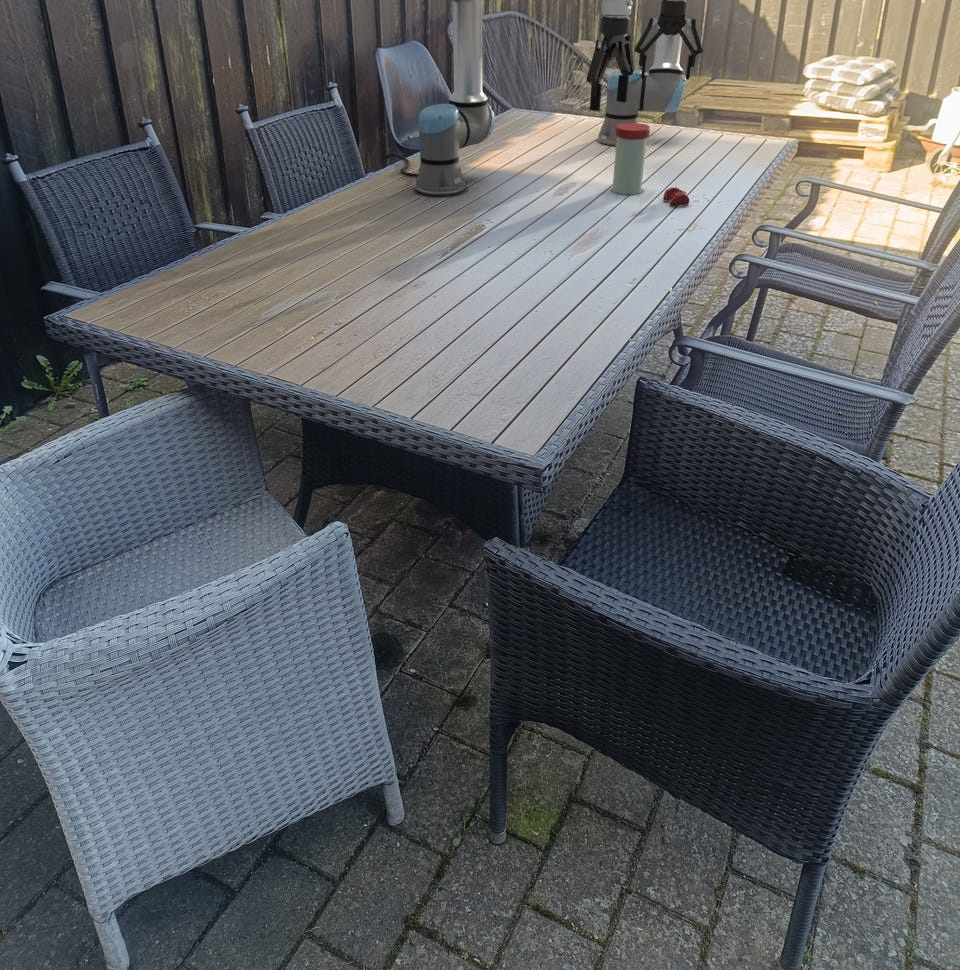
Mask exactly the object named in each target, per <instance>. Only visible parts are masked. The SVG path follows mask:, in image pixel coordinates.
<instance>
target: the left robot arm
mask: <svg viewBox="0 0 960 970" xmlns="http://www.w3.org/2000/svg"><path fill="white" fill-rule="evenodd" d="M483 1H484V0H451V3H452V4H451V5H452V54H453V58H452V59H453V60H452V61H453V92H452V94H451V95H450V96H449V97H448V103H438V104H431V105H428V106H426V107H424V108H423V109H422V110H421V111H420V112H419V114H418V115H419V116H418V126H417V127H418V137H419V138H418V139H419V157H420V158H419V159H420V161H419V162H420V164H419V168H418V172H417V173H414V172H407V171H405V170H406V169H408V167H409V165H410V159H407V158H406V157H405V156H402V155H400V154H398V153H393V152H392V153H391V152H390V153H389V154H387V155H386V157H385V159H390V157H396V158H399V159H401V160H402V161H404V162H406V163H405V165H404V166H403V167H402V168H400V173H401V174H402V175H404V176H409V177H416V180H415V192H417V193H418V194H420V195H424V196H430V197H450V196H455V195H459V194H461V193H463V192H464V191H466V181H465V179H464V176H463V172H462V169H461V165H460V149H463V148H467V147H470V146H474V145H475V146H476V145H479V144H480V143H482V142H484V141H486V140H487V139H488V138H489V137H490V136H491V135H492V133H493V131H494V128H495V123H496V117H495V113H494V110H492V106H491V105H490V104H489V103H488V96H487V95H486V94H485V93H484V91H483V16H484V15H483V14H484V13H483V8H484V7H483V3H484V2H483ZM632 6H633V0H601V8H600V9H601V10H600V14H601V18H600V24H599V33H600V34H602V35H603V39H596V40H595V45H594V50H593V55H592V58H591V61H590V65H589V67H588V71H587V75H586V78H585V79H586V82H587V83H588V84H590V99H589V100H590V101H589V111H594V112H595V111H596V112H600V111H601V102H602V88H603V84H602V83H601V81H602V80H603V77H604V75H605V72H606V70H607V68H608V65H609V63H610V61H612V60H613V59H614V58H615V60H616V63H617V67H618V70H619V71H620V72H621V74H622V75H619V80H618V92H617V101H618V102H627V93H628V82H629V75H630V76H632V75H633V72H634V70H636V69H635V62H634V55H633V47H632V35H631V34H629V33H630V29H631V18H630V15H631V14H632Z"/></svg>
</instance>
